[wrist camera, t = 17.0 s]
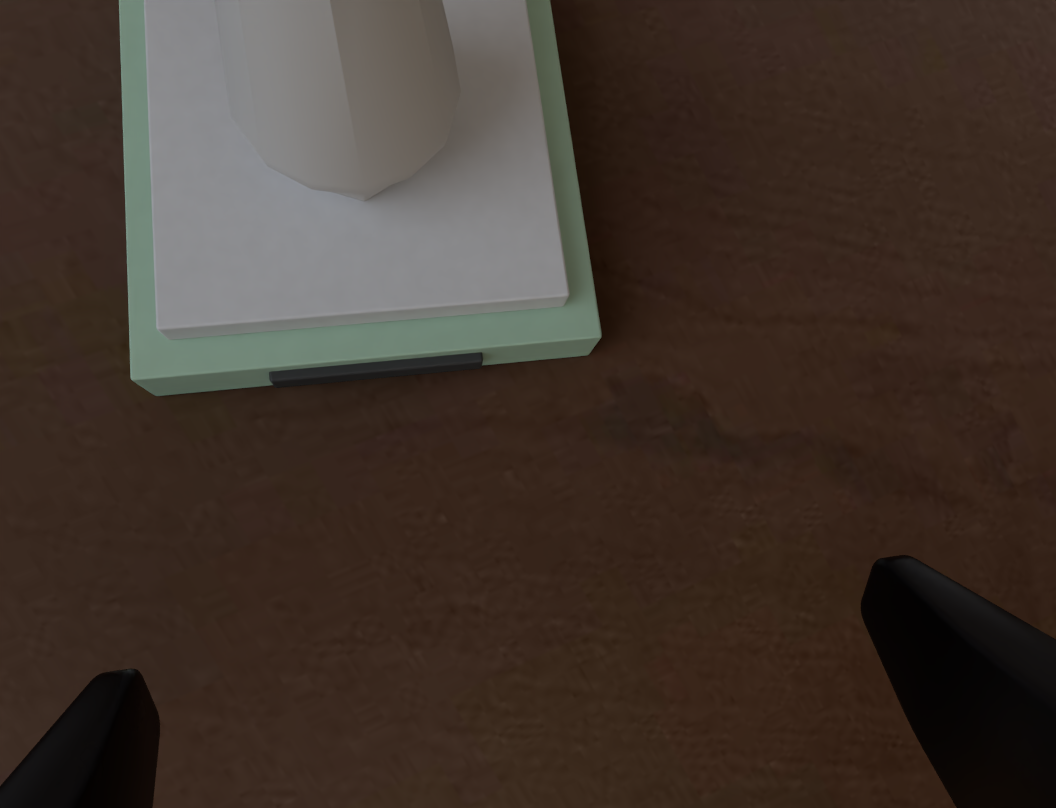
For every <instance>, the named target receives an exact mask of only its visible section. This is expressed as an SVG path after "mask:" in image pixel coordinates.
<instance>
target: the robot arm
mask: <svg viewBox="0 0 1056 808" xmlns="http://www.w3.org/2000/svg"><path fill="white" fill-rule="evenodd" d="M861 614H862V618H863V621H864V623H865V626H866V628H867V630H868V632H869V635H870V637H871V639H872V641H873V644H874V646H875V648H876V650H877V653H878V655H879V657H880V659H881V662H882V664H883V666H884V668H885V671H886V673H887V675H888V677H889V679H890V682H891V684H892V686H893V688H894V691H895V693H896V695H897V697H898V700H899V702H900V704H901V706H902V709H903V711H904V713H905V715H906V717H907V719H908V721H909V723H910V725H911V727H912V730H913V731H914V733H915V735H916V737H917V739H918V741H919V742H920V744H921V746H922V748H923V750H924V751H925V753H926V755H927V757H928V758H929V760H930V762H931V764H932V765H933V767H934V769H935V771H936V772H937V774H938V776H939V778H940V779H941V781H942V783H943V785H944V786H945V788H946V790H947V792H948V793H949V795H950V797H951V799H952V800H953V802H954V804H955V806H956V807H957V808H1056V639H1054V638H1052V637H1050V636H1049V635H1047V634H1045V633H1044V632H1042V631H1040V630H1038V629H1037V628H1035V627H1033V626H1031V625H1030V624H1028V623H1026V622H1024V621H1023V620H1021V619H1019V618H1018V617H1016V616H1014V615H1012V614H1011V613H1009V612H1007V611H1005V610H1004V609H1002V608H1000V607H999V606H997V605H995V604H993V603H992V602H990V601H988V600H986V599H985V598H983V597H981V596H979V595H978V594H976V593H974V592H973V591H971V590H969V589H967V588H966V587H964V586H962V585H960V584H959V583H957V582H955V581H954V580H952V579H950V578H948V577H947V576H945V575H943V574H941V573H940V572H938V571H936V570H934V569H933V568H931V567H929V566H928V565H926V564H924V563H922V562H921V561H919V560H917V559H915V558H913V557H911V556H908V555H899V556H892V557H886V558H880V559H878V560H877V561H876V562H875V563H874V564H873V566H872V569H871V572H870V575H869V578H868V582H867V585H866V588H865V591H864V594H863V597H862V600H861ZM159 737H160V720H159V715H158V711H157V709H156V706H155V704H154V702H153V699H152V697H151V695H150V692H149V690H148V688H147V685H146V683H145V681H144V678H143V676H142V675H141V673H140V672H139V671H138V670H136V669H124V670H118V671H111V672H105V673H101V674H99V675H97V676H96V677H95V678H93V679H92V680H91V681H90V683H89V684H88V685H87V686H86V687H85V688H84V690H83V691H82V692H81V693H80V694H79V695H78V697H77V698H76V699H75V700H74V701H73V702H72V703H71V705H70V706H69V707H68V708H67V709H66V710H65V712H64V713H63V714H62V715H61V716H60V717H59V719H58V720H57V721H56V722H55V723H54V724H53V726H52V727H51V728H50V729H49V730H48V731H47V733H46V734H45V735H44V736H43V737H42V738H41V739H40V741H39V742H38V743H37V744H36V745H35V746H34V748H33V749H32V750H31V751H30V752H29V753H28V755H27V756H26V757H25V758H24V759H23V760H22V762H21V763H20V764H19V765H18V766H17V767H16V768H15V770H14V771H13V772H12V773H11V774H10V775H9V777H8V778H7V779H6V780H5V781H4V782H3V784H2V785H1V786H0V808H152V807H153V797H154V787H155V777H156V767H157V757H158V747H159Z"/></svg>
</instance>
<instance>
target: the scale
mask: <svg viewBox="0 0 1056 808" xmlns="http://www.w3.org/2000/svg"><path fill="white" fill-rule="evenodd" d="M443 5H444V9H445V14H446V18H447V22H448V27H449V31H450V36H451V40H452V44H453V49H454V55H455V60H456V66H457V72H458V77H459V83H460V89H461V94H460V97H459V101H458V104H457V108H456V111H455V115H454V118H453V122H452V125H451V129H450V132H449V136H448V139H447V141H446V144H445V146H444V147H443V148H442V149H441V150H440V151H438V152H437V153H436V154H435V155H434V156H433V157H432V158H431V159H430V160H429V161H428V162H427V163H426V164H425V165H424V166H423V167H422V168H420V169H419V170H418V171H417V172H416V173H415V174H414V175H413V176H412V177H411V178H408V179H406V180H403V181H401V182H398V183H395V184H393V185H391V186H389V187H387V188H386V189H384V190H382V191H381V192H379V193H378V194H376V195H374V196H373V197H371V198H369V199H368V200H366V201H361V200H357V199H354V198H350V197H347V196H344V195H340V194H337V193H333V192H326V191H318V190H312V189H310V188H308V187H306V186H304V185H302V184H300V183H298V182H297V181H295V180H293V179H291V178H289V177H287V176H285V175H283V174H281V173H279V172H277V171H276V170H274V169H272V168H270V167H268V166H267V165H266V164H265V162H264V161H263V159H262V158H261V157H260V155H259V154H258V153H257V151H256V150H255V149H254V147H253V146H252V145H251V143H250V142H249V141H248V139H247V138H246V136H245V135H244V134H243V132H242V131H241V130H240V128H239V127H238V126H237V124H236V123H235V121H234V120H233V118H232V117H231V114H230V107H229V100H228V94H227V87H226V80H225V73H224V66H223V59H222V51H221V44H220V37H219V29H218V22H217V15H216V7H215V0H119V16H120V48H121V80H122V113H123V145H124V177H125V209H126V242H127V274H128V306H129V338H130V371H131V380H132V381H134V382H135V383H137V384H138V385H140V386H141V387H143V388H144V389H146V390H147V391H149V392H150V393H152V394H154V395H155V396H163V395H173V394H184V393H195V392H205V391H216V390H226V389H237V388H248V387H258V386H269V385H274V387H277V388H280V387H290V386H301V385H311V384H322V383H332V382H343V381H353V380H364V379H374V378H385V377H395V376H406V375H416V374H427V373H437V372H448V371H458V370H469V369H479V368H481V366H482V365H491V364H502V363H512V362H523V361H533V360H544V359H555V358H565V357H576V356H586V355H589V354H590V352H591V351H592V349H593V348H594V347H595V345H596V344H597V343H598V341H599V340H600V339H601V337H602V333H601V327H600V320H599V314H598V307H597V301H596V294H595V288H594V281H593V275H592V269H591V262H590V256H589V249H588V243H587V236H586V230H585V223H584V217H583V210H582V204H581V197H580V191H579V185H578V178H577V172H576V165H575V159H574V152H573V146H572V139H571V133H570V126H569V120H568V113H567V107H566V101H565V94H564V88H563V81H562V75H561V68H560V62H559V55H558V49H557V42H556V36H555V29H554V23H553V17H552V10H551V4H550V0H443Z"/></svg>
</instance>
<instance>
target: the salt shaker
mask: <svg viewBox="0 0 1056 808" xmlns="http://www.w3.org/2000/svg"><path fill="white" fill-rule="evenodd" d="M215 7H216V15H217V22H218V29H219V37H220V44H221V51H222V59H223V66H224V73H225V80H226V87H227V94H228V100H229V107H230V114H231V117H232V118H233V120H234V121H235V123H236V124H237V126H238V127H239V128H240V130H241V131H242V132H243V134H244V135H245V136H246V138H247V139H248V141H249V142H250V143H251V145H252V146H253V147H254V149H255V150H256V151H257V153H258V154H259V155H260V157H261V158H262V159H263V161H264V162H265V164H266V165H267V166H268V167H270V168H272V169H274V170H276V171H277V172H279V173H281V174H283V175H285V176H287V177H289V178H291V179H293V180H295V181H297V182H298V183H300V184H302V185H304V186H306V187H308V188H310V189H312V190H318V191H326V192H333V193H337V194H340V195H344V196H347V197H350V198H354V199H357V200H361V201H366V200H368V199H369V198H371V197H373V196H374V195H376V194H378V193H379V192H381V191H382V190H384V189H386V188H387V187H389V186H391V185H393V184H395V183H398V182H401V181H403V180H406V179H408V178H411V177H412V176H413V175H414V174H415V173H416V172H417V171H418V170H419V169H420V168H422V167H423V166H424V165H425V164H426V163H427V162H428V161H429V160H430V159H431V158H432V157H433V156H434V155H435V154H436V153H437V152H438V151H440V150H441V149H442V148H443V147H444V146H445V144H446V141H447V139H448V136H449V132H450V129H451V125H452V122H453V118H454V115H455V111H456V108H457V104H458V101H459V97H460V94H461V89H460V83H459V77H458V72H457V66H456V60H455V55H454V49H453V44H452V40H451V36H450V31H449V27H448V22H447V18H446V14H445V9H444V5H443V0H215Z"/></svg>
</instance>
